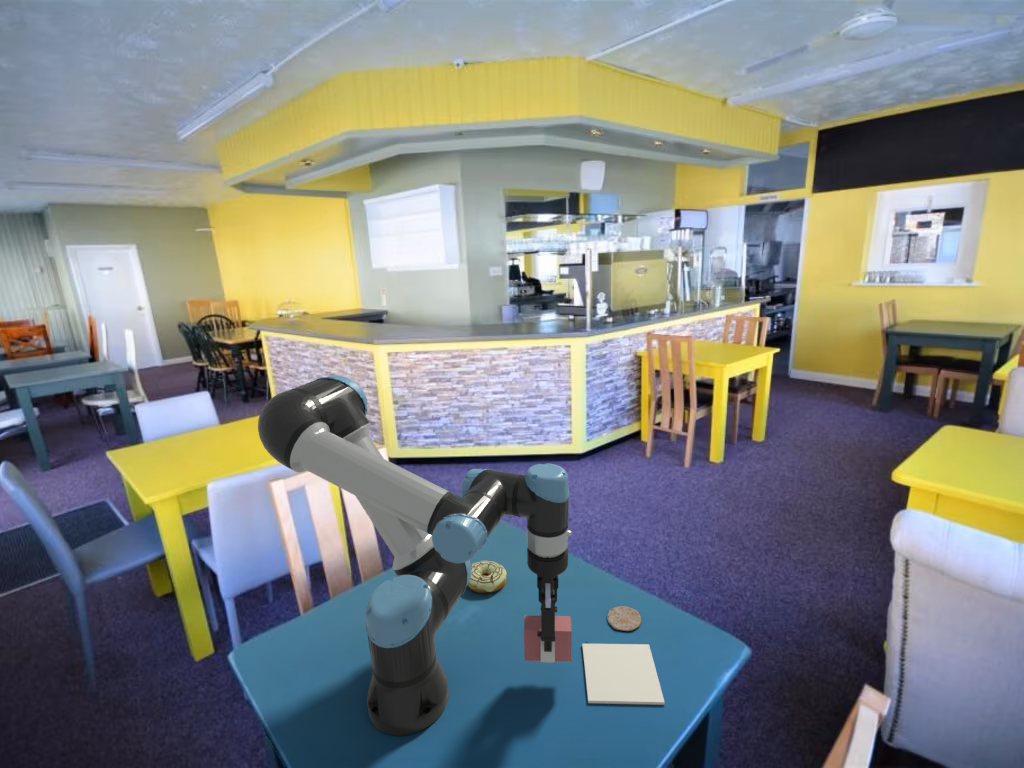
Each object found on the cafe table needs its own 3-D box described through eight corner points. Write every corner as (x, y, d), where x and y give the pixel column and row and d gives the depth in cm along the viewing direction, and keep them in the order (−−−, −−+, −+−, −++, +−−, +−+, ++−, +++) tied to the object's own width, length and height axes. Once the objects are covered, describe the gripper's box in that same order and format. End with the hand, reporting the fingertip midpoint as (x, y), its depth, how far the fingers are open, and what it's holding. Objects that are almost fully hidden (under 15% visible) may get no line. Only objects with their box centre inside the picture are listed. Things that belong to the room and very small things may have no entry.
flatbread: (613, 604, 120) (613, 600, 119) (645, 614, 116) (645, 610, 116) (601, 626, 113) (601, 623, 113) (635, 637, 109) (635, 634, 109)
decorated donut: (495, 601, 122) (495, 587, 121) (457, 590, 127) (456, 577, 126) (513, 575, 132) (512, 563, 131) (476, 566, 136) (476, 554, 135)
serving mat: (588, 703, 94) (588, 700, 94) (582, 645, 107) (582, 643, 107) (664, 704, 93) (664, 702, 93) (648, 646, 106) (649, 644, 106)
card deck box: (524, 660, 97) (523, 630, 95) (525, 644, 101) (524, 615, 99) (571, 661, 97) (571, 631, 95) (570, 645, 101) (570, 616, 99)
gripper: (570, 576, 84) (569, 688, 90) (565, 522, 100) (564, 620, 107) (525, 575, 85) (527, 687, 91) (528, 521, 101) (529, 619, 107)
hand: (547, 651), depth 99 cm, fingers closed on card deck box, 4 cm apart
